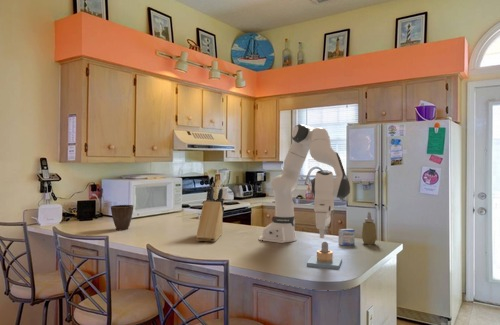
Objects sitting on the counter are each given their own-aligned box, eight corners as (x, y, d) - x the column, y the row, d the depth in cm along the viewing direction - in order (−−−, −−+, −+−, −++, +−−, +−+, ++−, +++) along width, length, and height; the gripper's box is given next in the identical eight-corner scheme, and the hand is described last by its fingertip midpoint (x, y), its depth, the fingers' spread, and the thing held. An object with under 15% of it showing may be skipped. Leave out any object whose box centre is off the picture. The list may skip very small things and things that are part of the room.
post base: (306, 266, 167) (306, 243, 166) (312, 258, 180) (312, 237, 180) (338, 269, 162) (338, 246, 162) (341, 261, 175) (342, 239, 175)
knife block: (225, 231, 248) (225, 185, 247) (214, 243, 213) (215, 189, 212) (208, 231, 249) (208, 185, 249) (195, 242, 214) (195, 188, 214)
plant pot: (105, 230, 250) (105, 206, 250) (119, 226, 264) (119, 204, 264) (124, 231, 246) (124, 207, 246) (137, 228, 260) (137, 205, 260)
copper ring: (316, 261, 169) (316, 252, 169) (318, 257, 175) (318, 249, 175) (331, 262, 167) (331, 253, 167) (333, 259, 173) (333, 250, 173)
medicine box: (342, 245, 207) (342, 230, 207) (338, 244, 211) (338, 228, 211) (354, 245, 209) (354, 229, 209) (350, 243, 214) (350, 228, 213)
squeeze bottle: (373, 242, 216) (373, 211, 216) (378, 245, 208) (378, 213, 208) (359, 242, 216) (359, 211, 216) (364, 245, 208) (364, 213, 208)
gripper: (320, 203, 181) (320, 231, 182) (313, 208, 162) (312, 239, 162) (333, 203, 179) (333, 232, 179) (327, 208, 160) (327, 241, 160)
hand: (323, 236), depth 171 cm, fingers open, 8 cm apart
